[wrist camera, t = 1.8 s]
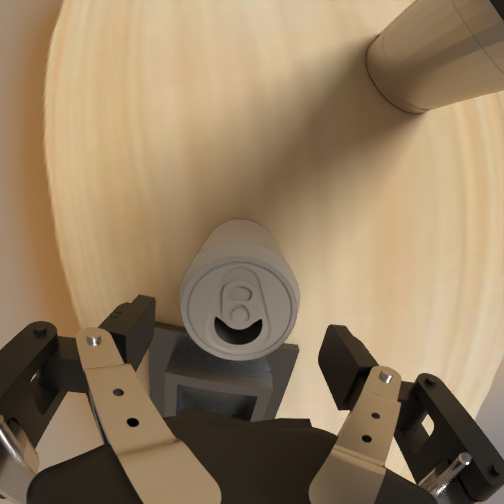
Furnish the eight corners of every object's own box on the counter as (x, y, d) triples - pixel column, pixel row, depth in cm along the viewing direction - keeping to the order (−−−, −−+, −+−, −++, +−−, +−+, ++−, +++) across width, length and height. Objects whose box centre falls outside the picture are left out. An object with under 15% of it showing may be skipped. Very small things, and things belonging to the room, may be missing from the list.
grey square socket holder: (152, 321, 26) (138, 344, 21) (297, 344, 27) (306, 370, 22) (153, 415, 29) (145, 439, 25) (266, 432, 30) (268, 457, 26)
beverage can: (203, 285, 25) (176, 363, 13) (205, 215, 23) (171, 245, 12) (272, 289, 25) (295, 368, 14) (278, 219, 24) (313, 253, 12)
